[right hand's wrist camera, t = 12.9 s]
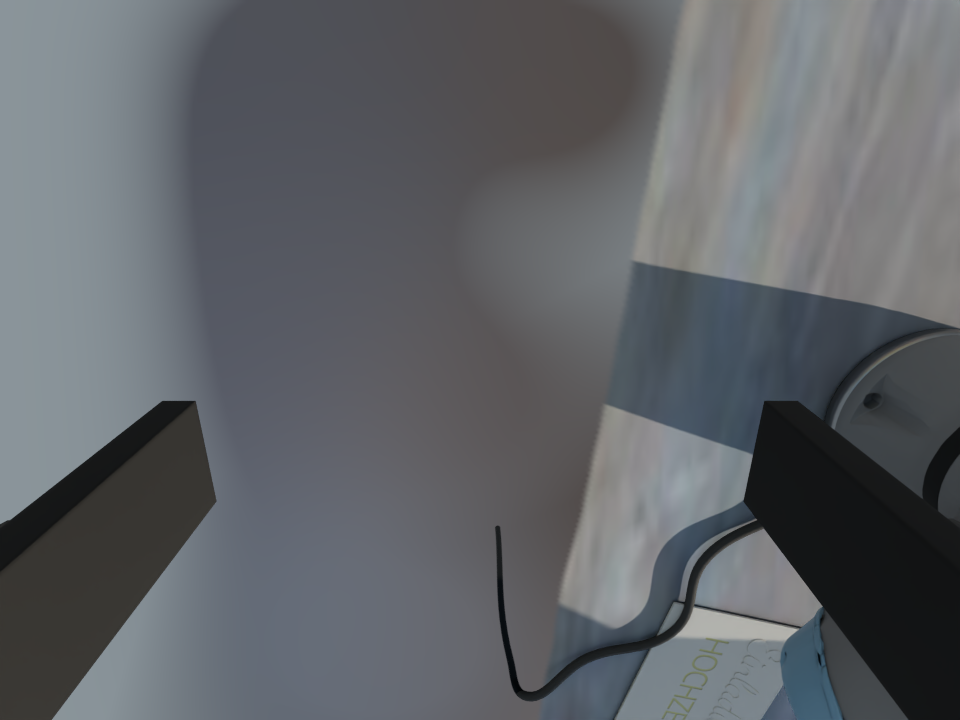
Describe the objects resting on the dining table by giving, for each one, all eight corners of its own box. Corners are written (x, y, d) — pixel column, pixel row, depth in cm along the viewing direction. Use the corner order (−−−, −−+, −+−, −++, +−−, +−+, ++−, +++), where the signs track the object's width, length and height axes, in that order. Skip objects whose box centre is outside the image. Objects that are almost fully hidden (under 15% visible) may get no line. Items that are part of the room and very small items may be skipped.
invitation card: (674, 603, 52) (817, 634, 53) (673, 601, 52) (815, 631, 53) (600, 748, 59) (727, 772, 61) (600, 746, 59) (726, 769, 61)
